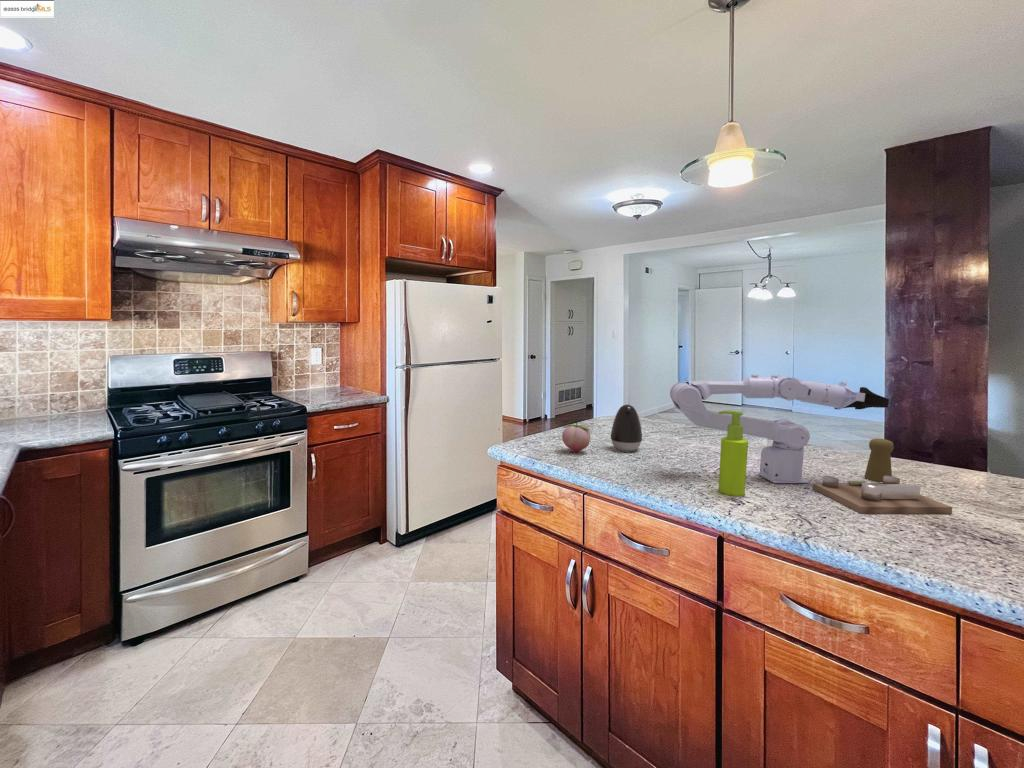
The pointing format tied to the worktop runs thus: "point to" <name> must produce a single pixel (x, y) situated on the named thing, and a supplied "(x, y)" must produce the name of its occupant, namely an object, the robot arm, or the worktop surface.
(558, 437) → the worktop surface
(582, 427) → the decorative fruit
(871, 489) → the lever handle
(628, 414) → the black rounded dome
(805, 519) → the worktop surface
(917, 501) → the brown latch board
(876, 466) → the cork
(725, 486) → the soap dispenser
